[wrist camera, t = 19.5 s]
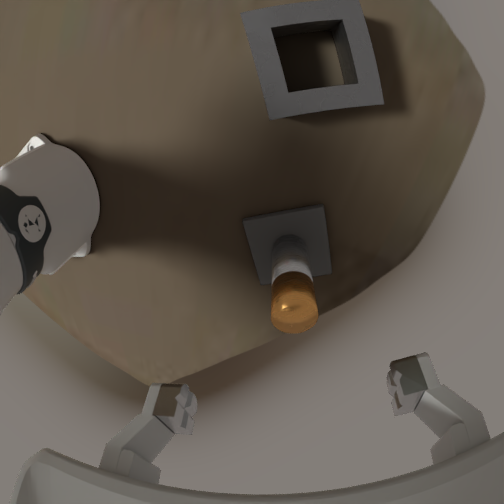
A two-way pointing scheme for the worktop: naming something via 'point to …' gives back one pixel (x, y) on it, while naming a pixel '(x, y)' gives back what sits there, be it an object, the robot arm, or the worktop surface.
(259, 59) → the block
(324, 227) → the pad
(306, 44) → the worktop surface
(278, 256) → the gold and grey cylinder
